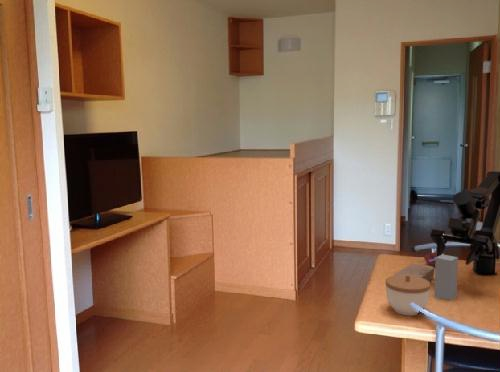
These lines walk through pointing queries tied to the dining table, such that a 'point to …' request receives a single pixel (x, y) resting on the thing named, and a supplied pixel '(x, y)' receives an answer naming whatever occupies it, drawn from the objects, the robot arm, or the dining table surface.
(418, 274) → the brick
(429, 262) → the geometric puzzle
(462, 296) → the dining table surface
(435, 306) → the dining table surface
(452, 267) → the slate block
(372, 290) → the dining table surface
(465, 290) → the dining table surface
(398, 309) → the lidded bowl
